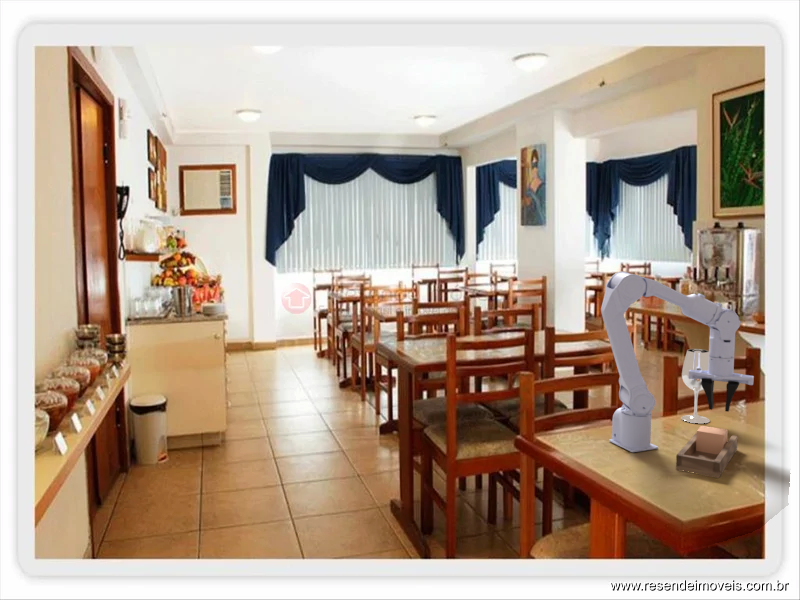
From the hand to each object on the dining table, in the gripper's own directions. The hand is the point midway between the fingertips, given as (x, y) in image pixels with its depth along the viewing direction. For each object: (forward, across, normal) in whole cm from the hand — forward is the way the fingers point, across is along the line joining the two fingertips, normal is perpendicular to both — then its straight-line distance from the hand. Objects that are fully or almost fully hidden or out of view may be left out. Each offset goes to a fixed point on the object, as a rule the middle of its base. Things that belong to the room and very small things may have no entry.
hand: (719, 409), depth 169 cm
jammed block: (+8, -1, -8) cm, 11 cm away
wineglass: (+10, -8, +21) cm, 24 cm away
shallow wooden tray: (+9, -1, -12) cm, 15 cm away
